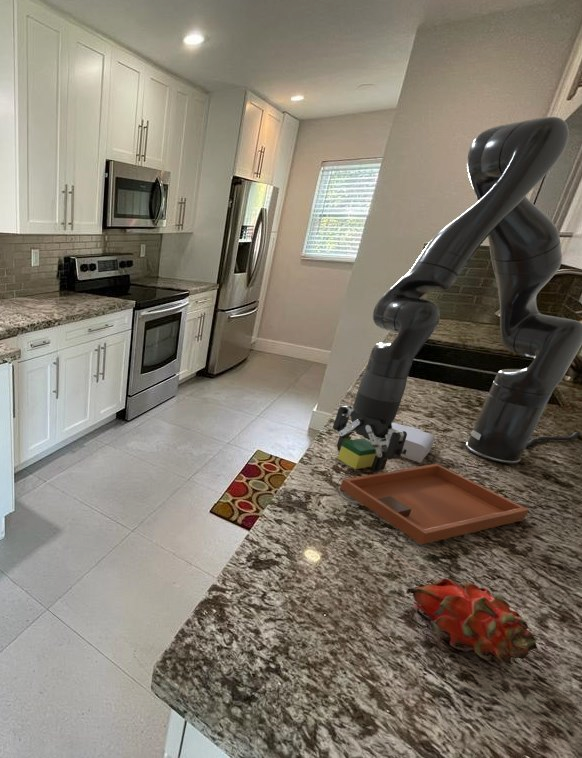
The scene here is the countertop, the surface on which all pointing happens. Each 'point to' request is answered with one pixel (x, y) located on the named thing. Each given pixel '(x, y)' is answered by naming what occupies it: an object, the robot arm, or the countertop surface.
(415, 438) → the charger
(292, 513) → the countertop surface
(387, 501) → the block
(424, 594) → the dragon fruit
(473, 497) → the pan
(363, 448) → the sponge
